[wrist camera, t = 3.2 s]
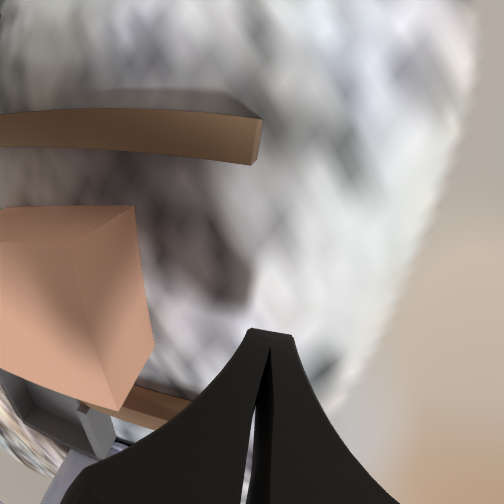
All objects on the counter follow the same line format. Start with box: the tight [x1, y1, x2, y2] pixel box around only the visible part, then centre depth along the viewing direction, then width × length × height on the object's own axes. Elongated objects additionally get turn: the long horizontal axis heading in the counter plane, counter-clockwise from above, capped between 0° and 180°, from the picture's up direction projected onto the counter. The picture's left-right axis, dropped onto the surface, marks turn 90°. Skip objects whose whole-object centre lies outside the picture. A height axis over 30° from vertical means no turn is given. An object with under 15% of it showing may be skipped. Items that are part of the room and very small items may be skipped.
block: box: [0, 205, 155, 412], centre depth 10 cm, size 6×7×4 cm
